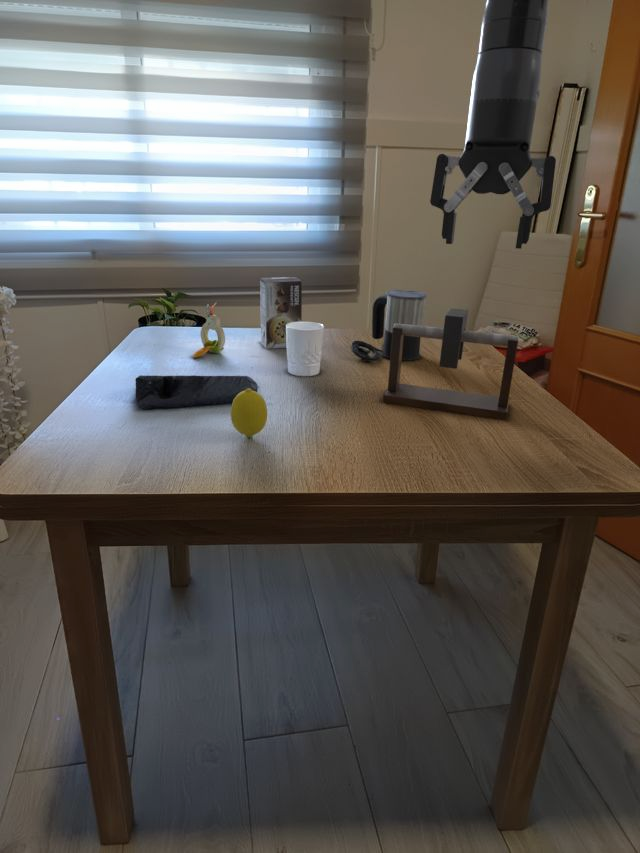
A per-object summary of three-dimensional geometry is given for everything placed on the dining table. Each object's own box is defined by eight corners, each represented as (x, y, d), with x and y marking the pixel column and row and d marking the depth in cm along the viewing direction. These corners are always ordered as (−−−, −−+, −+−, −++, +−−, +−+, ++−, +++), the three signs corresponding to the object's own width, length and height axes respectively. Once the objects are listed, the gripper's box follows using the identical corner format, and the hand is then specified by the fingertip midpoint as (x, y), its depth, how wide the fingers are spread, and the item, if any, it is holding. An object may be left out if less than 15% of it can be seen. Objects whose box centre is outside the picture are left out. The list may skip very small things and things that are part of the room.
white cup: (288, 378, 118) (288, 330, 114) (282, 367, 125) (283, 321, 121) (325, 376, 119) (327, 329, 115) (318, 366, 126) (319, 321, 123)
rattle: (181, 352, 133) (178, 302, 129) (213, 347, 138) (211, 299, 134) (195, 359, 128) (193, 308, 123) (228, 354, 132) (227, 305, 128)
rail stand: (508, 405, 107) (520, 331, 101) (506, 420, 100) (519, 341, 94) (392, 389, 113) (398, 319, 108) (382, 402, 106) (388, 327, 101)
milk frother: (426, 355, 138) (433, 292, 132) (400, 370, 125) (406, 302, 120) (373, 346, 145) (377, 286, 139) (343, 359, 132) (346, 294, 126)
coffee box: (294, 341, 147) (296, 276, 140) (301, 347, 141) (303, 280, 135) (259, 342, 144) (259, 276, 138) (265, 349, 138) (265, 280, 132)
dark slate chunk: (260, 408, 101) (260, 383, 99) (130, 411, 97) (128, 385, 96) (255, 381, 115) (255, 358, 113) (142, 383, 111) (140, 359, 110)
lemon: (264, 429, 92) (264, 382, 89) (269, 443, 87) (269, 393, 84) (230, 431, 91) (228, 383, 88) (232, 445, 86) (231, 395, 83)
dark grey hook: (439, 366, 100) (445, 315, 97) (445, 356, 107) (451, 308, 104) (456, 369, 99) (463, 317, 96) (461, 358, 106) (468, 309, 103)
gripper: (437, 96, 65) (422, 244, 72) (570, 94, 61) (543, 252, 67) (445, 105, 72) (431, 240, 78) (567, 104, 68) (542, 247, 74)
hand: (483, 245), depth 73 cm, fingers open, 8 cm apart
